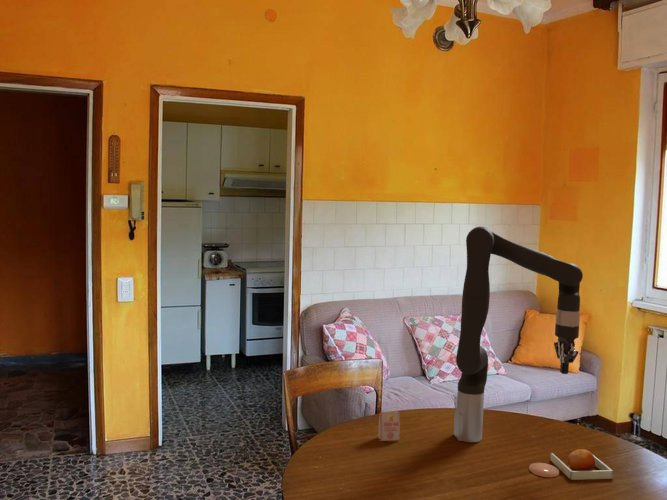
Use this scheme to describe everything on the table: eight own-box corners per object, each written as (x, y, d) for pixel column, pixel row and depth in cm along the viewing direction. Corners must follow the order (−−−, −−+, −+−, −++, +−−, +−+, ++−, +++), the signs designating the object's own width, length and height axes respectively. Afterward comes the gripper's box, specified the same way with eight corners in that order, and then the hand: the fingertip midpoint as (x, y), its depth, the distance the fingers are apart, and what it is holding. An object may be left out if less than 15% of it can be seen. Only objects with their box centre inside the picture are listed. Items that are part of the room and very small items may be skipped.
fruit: (602, 475, 190) (589, 451, 191) (578, 484, 192) (565, 461, 193) (599, 464, 198) (586, 441, 198) (575, 473, 200) (563, 451, 201)
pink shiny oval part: (536, 477, 190) (536, 476, 190) (524, 464, 199) (524, 463, 199) (564, 477, 191) (564, 475, 191) (550, 464, 200) (551, 462, 200)
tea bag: (378, 437, 218) (378, 410, 217) (396, 436, 219) (397, 409, 218) (380, 441, 214) (381, 413, 213) (399, 441, 215) (400, 413, 214)
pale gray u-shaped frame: (570, 479, 189) (571, 471, 189) (550, 460, 203) (550, 453, 203) (612, 478, 191) (613, 470, 191) (589, 459, 204) (590, 452, 204)
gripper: (547, 318, 213) (544, 367, 215) (566, 327, 200) (562, 379, 202) (568, 318, 214) (565, 367, 216) (588, 327, 201) (584, 379, 203)
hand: (564, 373), depth 209 cm, fingers closed
